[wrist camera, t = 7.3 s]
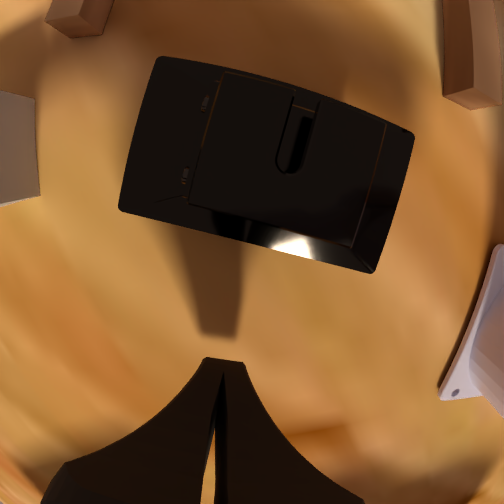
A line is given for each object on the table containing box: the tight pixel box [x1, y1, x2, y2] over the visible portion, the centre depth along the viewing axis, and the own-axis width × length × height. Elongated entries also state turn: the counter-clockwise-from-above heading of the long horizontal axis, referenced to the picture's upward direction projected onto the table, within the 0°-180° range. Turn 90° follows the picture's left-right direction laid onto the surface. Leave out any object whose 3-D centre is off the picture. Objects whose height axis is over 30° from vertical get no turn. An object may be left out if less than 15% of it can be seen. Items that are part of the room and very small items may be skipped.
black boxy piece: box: [118, 56, 415, 274], centre depth 8 cm, size 12×7×5 cm, turn 75°
